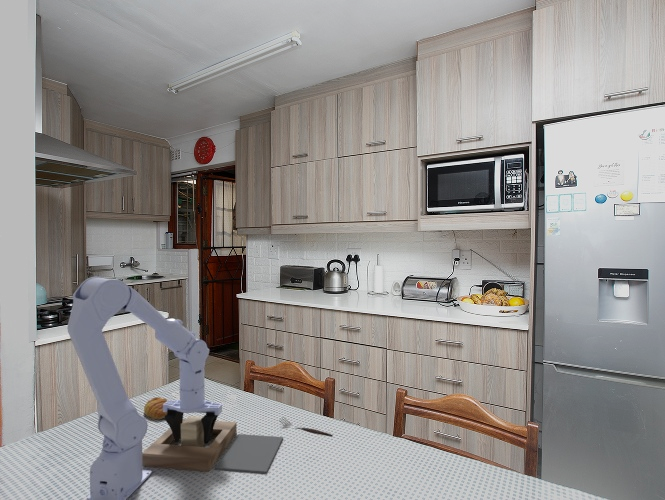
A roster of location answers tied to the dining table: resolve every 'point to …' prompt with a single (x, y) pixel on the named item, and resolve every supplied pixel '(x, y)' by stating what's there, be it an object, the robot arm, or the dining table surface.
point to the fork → (304, 428)
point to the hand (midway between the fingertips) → (192, 440)
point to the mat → (250, 453)
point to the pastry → (155, 408)
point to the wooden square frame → (189, 450)
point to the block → (192, 432)
